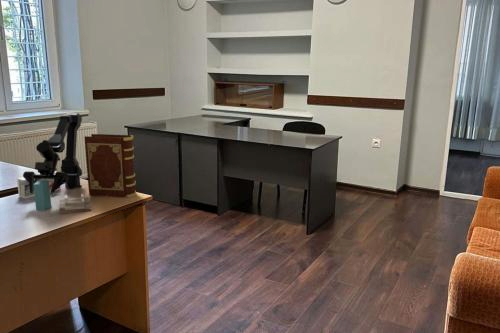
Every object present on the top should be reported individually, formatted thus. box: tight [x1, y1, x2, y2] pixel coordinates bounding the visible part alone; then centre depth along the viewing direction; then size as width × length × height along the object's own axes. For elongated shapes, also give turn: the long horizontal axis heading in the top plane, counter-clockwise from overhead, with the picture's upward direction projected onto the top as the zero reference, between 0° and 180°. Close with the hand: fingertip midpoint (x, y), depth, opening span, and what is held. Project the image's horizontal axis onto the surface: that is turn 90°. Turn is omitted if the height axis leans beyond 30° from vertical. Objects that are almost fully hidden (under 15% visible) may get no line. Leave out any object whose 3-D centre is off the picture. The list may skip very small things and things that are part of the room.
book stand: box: [58, 193, 92, 215], centre depth 191 cm, size 18×13×4 cm
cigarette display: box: [16, 171, 61, 199], centre depth 210 cm, size 20×6×9 cm, turn 148°
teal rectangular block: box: [33, 181, 52, 211], centre depth 188 cm, size 6×4×12 cm, turn 0°
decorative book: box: [84, 133, 137, 198], centre depth 206 cm, size 22×8×30 cm, turn 84°
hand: (41, 193), depth 187 cm, fingers open, 9 cm apart
